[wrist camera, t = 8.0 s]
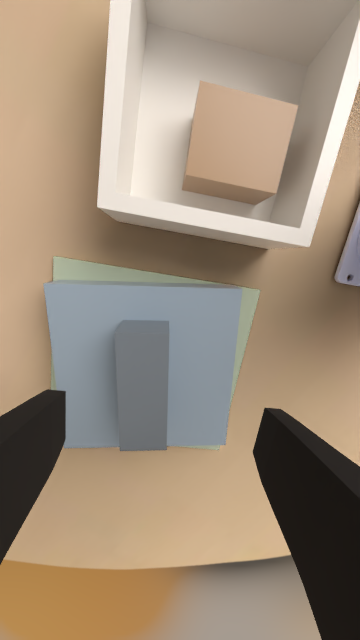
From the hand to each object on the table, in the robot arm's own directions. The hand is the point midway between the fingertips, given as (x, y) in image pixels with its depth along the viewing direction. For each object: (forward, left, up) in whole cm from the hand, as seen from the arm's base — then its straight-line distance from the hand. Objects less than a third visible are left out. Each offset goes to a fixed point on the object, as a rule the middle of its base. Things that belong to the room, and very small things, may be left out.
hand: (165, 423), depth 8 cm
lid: (+1, +3, -10) cm, 10 cm away
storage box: (-1, -13, -10) cm, 17 cm away
